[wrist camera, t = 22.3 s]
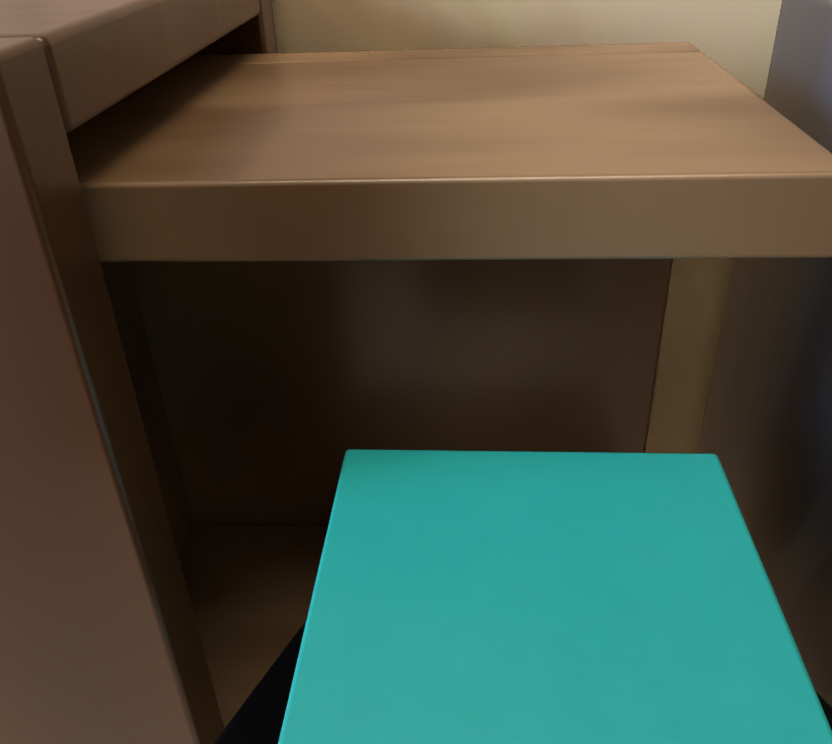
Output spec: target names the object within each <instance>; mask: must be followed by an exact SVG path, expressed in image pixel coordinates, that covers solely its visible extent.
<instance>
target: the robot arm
mask: <svg viewBox="0 0 832 744" xmlns="http://www.w3.org/2000/svg"><path fill="white" fill-rule="evenodd" d="M305 625H306V622H305V623H304V624H303V625H302V626H301V628H300V629H299V630H298V632H297V633H296V634H295V636H294V637H293V638H292V640H291V641H290V642H289V644H288V645H287V646H286V647H285V649H284V650H283V651H282V653H281V654H280V655H279V657H278V658H277V659H276V661H275V662H274V663H273V665H272V666H271V667H270V669H269V670H268V671H267V673H266V674H265V675H264V677H263V678H262V679H261V681H260V682H259V683H258V685H257V686H256V687H255V688H254V690H253V691H252V692H251V694H250V695H249V696H248V698H247V699H246V700H245V702H244V703H243V704H242V706H241V707H240V708H239V710H238V711H237V712H236V714H235V715H234V716H233V718H232V719H231V720H230V722H229V723H228V724H227V726H226V727H225V728H224V729H223V731H222V732H221V733H220V735H219V736H218V737H217V739H216V740H215V741H214V743H213V744H278V742H279V738H280V733H281V729H282V725H283V720H284V716H285V712H286V707H287V703H288V699H289V694H290V690H291V686H292V681H293V677H294V672H295V668H296V664H297V659H298V655H299V651H300V646H301V642H302V638H303V633H304V629H305ZM815 692H816V690H815ZM816 694H817V696H818V699H819V701H820V704H821V706H822V708H823V711H824V713H825V716H826V718H827V720H828V723H829V725H830V728H831V730H832V708H831V706H830V705H829V704H828V703H827V702H826V701H825V700H824V699H823V698H822V697H821V696H820V695H819V694H818V693H817V692H816Z"/></svg>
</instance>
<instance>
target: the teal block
mask: <svg viewBox="0 0 832 744" xmlns="http://www.w3.org/2000/svg"><path fill="white" fill-rule="evenodd" d="M278 744H832V730H831V728H830V725H829V723H828V720H827V718H826V716H825V713H824V711H823V708H822V706H821V704H820V701H819V699H818V696H817V694H816V692H815V689H814V687H813V684H812V682H811V680H810V677H809V675H808V672H807V670H806V667H805V665H804V663H803V660H802V658H801V655H800V653H799V651H798V648H797V646H796V643H795V641H794V639H793V636H792V634H791V631H790V629H789V627H788V624H787V622H786V619H785V617H784V614H783V612H782V610H781V607H780V605H779V602H778V600H777V598H776V595H775V593H774V590H773V588H772V586H771V583H770V581H769V578H768V576H767V574H766V571H765V569H764V566H763V564H762V561H761V559H760V557H759V554H758V552H757V549H756V547H755V545H754V542H753V540H752V537H751V535H750V533H749V530H748V528H747V525H746V523H745V521H744V518H743V516H742V513H741V511H740V508H739V506H738V504H737V501H736V499H735V496H734V494H733V492H732V489H731V487H730V484H729V482H728V480H727V477H726V475H725V472H724V470H723V468H722V465H721V463H720V460H719V458H718V456H717V455H716V454H697V453H614V452H530V451H446V450H362V449H349V450H347V451H346V452H345V456H344V460H343V464H342V469H341V473H340V477H339V482H338V486H337V490H336V495H335V499H334V503H333V508H332V512H331V516H330V521H329V525H328V529H327V534H326V538H325V542H324V547H323V551H322V555H321V560H320V564H319V568H318V573H317V577H316V581H315V586H314V590H313V594H312V599H311V603H310V607H309V612H308V616H307V620H306V625H305V629H304V633H303V638H302V642H301V646H300V651H299V655H298V659H297V664H296V668H295V672H294V677H293V681H292V686H291V690H290V694H289V699H288V703H287V707H286V712H285V716H284V720H283V725H282V729H281V733H280V738H279V742H278Z"/></svg>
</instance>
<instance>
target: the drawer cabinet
mask: <svg viewBox="0 0 832 744" xmlns="http://www.w3.org/2000/svg"><path fill="white" fill-rule="evenodd" d="M275 53H277V45H276V37H275V29H274V21H273V12H272V4H271V0H0V744H213V743H214V741H215V740H216V739H217V737H218V736H219V735H220V733H221V732H222V731H223V729H224V724H223V721H222V717H221V713H220V709H219V706H218V702H217V698H216V694H215V691H214V687H213V683H212V679H211V676H210V672H209V668H208V664H207V661H206V657H205V653H204V649H203V646H202V642H201V638H200V634H199V631H198V627H197V623H196V619H195V616H194V612H193V608H192V604H191V600H190V597H189V593H188V589H187V585H186V582H185V578H184V574H183V570H182V567H181V563H180V559H179V555H178V552H177V548H176V544H175V540H174V537H173V533H172V529H171V525H170V522H169V518H168V514H167V510H166V507H165V503H164V499H163V495H162V492H161V488H160V484H159V480H158V477H157V473H156V469H155V465H154V462H153V458H152V454H151V450H150V447H149V443H148V439H147V435H146V431H145V428H144V424H143V420H142V416H141V413H140V409H139V405H138V401H137V398H136V394H135V390H134V386H133V383H132V379H131V375H130V371H129V368H128V364H127V360H126V356H125V353H124V349H123V345H122V341H121V338H120V334H119V330H118V326H117V323H116V319H115V315H114V311H113V308H112V304H111V300H110V296H109V293H108V289H107V285H106V281H105V277H104V274H103V270H102V266H101V262H100V259H99V255H98V251H97V247H96V244H95V240H94V236H93V232H92V229H91V225H90V221H89V217H88V214H87V210H86V206H85V202H84V199H83V195H82V191H81V187H80V184H79V180H78V176H77V172H76V169H75V165H74V161H73V157H72V154H71V150H70V146H69V142H68V139H67V135H66V134H67V133H69V132H71V131H72V130H74V129H76V128H77V127H79V126H80V125H82V124H84V123H85V122H87V121H88V120H90V119H92V118H93V117H95V116H96V115H98V114H100V113H101V112H103V111H104V110H106V109H108V108H109V107H111V106H112V105H114V104H116V103H117V102H119V101H120V100H122V99H124V98H125V97H127V96H128V95H130V94H132V93H133V92H135V91H136V90H138V89H140V88H141V87H143V86H144V85H146V84H148V83H149V82H151V81H152V80H154V79H156V78H157V77H159V76H160V75H162V74H164V73H165V72H167V71H168V70H170V69H172V68H173V67H175V66H176V65H178V64H180V63H181V62H183V61H184V60H186V59H188V58H189V57H191V56H201V55H238V54H275Z"/></svg>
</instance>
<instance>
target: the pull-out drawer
mask: <svg viewBox="0 0 832 744" xmlns="http://www.w3.org/2000/svg"><path fill="white" fill-rule="evenodd" d="M66 135H67V139H68V142H69V146H70V150H71V154H72V157H73V161H74V165H75V169H76V172H77V176H78V180H79V184H80V187H81V191H82V195H83V199H84V202H85V206H86V210H87V214H88V217H89V221H90V225H91V229H92V232H93V236H94V240H95V244H96V247H97V251H98V255H99V259H100V262H101V266H102V270H103V274H104V277H105V281H106V285H107V289H108V293H109V296H110V300H111V304H112V308H113V311H114V315H115V319H116V323H117V326H118V330H119V334H120V338H121V341H122V345H123V349H124V353H125V356H126V360H127V364H128V368H129V371H130V375H131V379H132V383H133V386H134V390H135V394H136V398H137V401H138V405H139V409H140V413H141V416H142V420H143V424H144V428H145V431H146V435H147V439H148V443H149V447H150V450H151V454H152V458H153V462H154V465H155V469H156V473H157V477H158V480H159V484H160V488H161V492H162V495H163V499H164V503H165V507H166V510H167V514H168V518H169V522H170V525H171V529H172V533H173V537H174V540H175V544H176V548H177V552H178V555H179V559H180V563H181V567H182V570H183V574H184V578H185V582H186V585H187V589H188V593H189V597H190V600H191V604H192V608H193V612H194V616H195V619H196V623H197V627H198V631H199V634H200V638H201V642H202V646H203V649H204V653H205V657H206V661H207V664H208V668H209V672H210V676H211V679H212V683H213V687H214V691H215V694H216V698H217V702H218V706H219V709H220V713H221V717H222V721H223V724H224V728H225V727H226V726H227V724H228V723H229V722H230V720H231V719H232V718H233V716H234V715H235V714H236V712H237V711H238V710H239V708H240V707H241V706H242V704H243V703H244V702H245V700H246V699H247V698H248V696H249V695H250V694H251V692H252V691H253V690H254V688H255V687H256V686H257V685H258V683H259V682H260V681H261V679H262V678H263V677H264V675H265V674H266V673H267V671H268V670H269V669H270V667H271V666H272V665H273V663H274V662H275V661H276V659H277V658H278V657H279V655H280V654H281V653H282V651H283V650H284V649H285V647H286V646H287V645H288V644H289V642H290V641H291V640H292V638H293V637H294V636H295V634H296V633H297V632H298V630H299V629H300V628H301V626H302V625H303V624H304V623H305V622H306V620H307V616H308V612H309V607H310V603H311V599H312V594H313V590H314V586H315V581H316V577H317V573H318V568H319V564H320V560H321V555H322V551H323V547H324V542H325V538H326V534H327V529H328V525H329V521H330V516H331V512H332V508H333V503H334V499H335V495H336V490H337V486H338V482H339V477H340V473H341V469H342V464H343V460H344V456H345V452H346V451H347V450H349V449H362V450H446V451H530V452H614V453H645V449H646V442H647V435H648V428H649V421H650V415H651V408H652V401H653V394H654V387H655V380H656V373H657V366H658V359H659V352H660V345H661V338H662V331H663V324H664V318H665V311H666V304H667V297H668V290H669V283H670V276H671V269H672V262H673V259H687V258H734V261H733V266H732V271H731V277H730V282H729V287H728V293H727V298H726V303H725V308H724V314H723V319H722V324H721V330H720V335H719V340H718V346H717V351H716V356H715V362H714V367H713V372H712V378H711V383H710V388H709V394H708V399H707V404H706V410H705V415H704V420H703V426H702V431H701V436H700V442H699V447H698V452H697V454H716V455H717V456H718V458H719V460H720V463H721V465H722V468H723V470H724V472H725V475H726V477H727V480H728V482H729V484H730V487H731V489H732V492H733V494H734V496H735V499H736V501H737V504H738V506H739V508H740V511H741V513H742V516H743V518H744V521H745V523H746V525H747V528H748V530H749V533H750V535H751V537H752V540H753V542H754V545H755V547H756V549H757V552H758V554H759V557H760V559H761V561H762V564H763V566H764V569H765V571H766V574H767V576H768V578H769V581H770V583H771V586H772V588H773V590H774V593H775V595H776V598H777V600H778V602H779V605H780V607H781V610H782V612H783V614H784V617H785V619H786V622H787V624H788V627H789V629H790V631H791V634H792V636H793V639H794V641H795V643H796V646H797V648H798V651H799V653H800V655H801V658H802V660H803V663H804V665H805V667H806V670H807V672H808V675H809V677H810V680H811V682H812V684H813V687H814V689H815V690H816V692H817V693H818V694H819V695H820V696H821V697H822V698H823V699H824V700H825V701H826V702H827V703H828V704H829V705H830V706H831V708H832V0H782V5H781V10H780V16H779V21H778V26H777V32H776V37H775V42H774V48H773V53H772V58H771V64H770V69H769V74H768V80H767V85H766V90H765V96H764V100H763V99H762V98H760V97H759V96H758V95H757V94H755V93H754V92H753V91H751V90H750V89H749V88H748V87H746V86H745V85H744V84H743V83H741V82H740V81H739V80H737V79H736V78H735V77H734V76H732V75H731V74H730V73H728V72H727V71H726V70H725V69H723V68H722V67H721V66H719V65H718V64H717V63H716V62H714V61H713V60H712V59H710V58H709V57H708V56H707V55H705V54H704V53H702V52H701V51H700V50H698V49H697V48H696V47H695V46H693V45H692V44H691V43H688V42H683V43H646V44H609V45H572V46H535V47H497V48H460V49H423V50H386V51H349V52H312V53H275V54H238V55H201V56H191V57H189V58H188V59H186V60H184V61H183V62H181V63H180V64H178V65H176V66H175V67H173V68H172V69H170V70H168V71H167V72H165V73H164V74H162V75H160V76H159V77H157V78H156V79H154V80H152V81H151V82H149V83H148V84H146V85H144V86H143V87H141V88H140V89H138V90H136V91H135V92H133V93H132V94H130V95H128V96H127V97H125V98H124V99H122V100H120V101H119V102H117V103H116V104H114V105H112V106H111V107H109V108H108V109H106V110H104V111H103V112H101V113H100V114H98V115H96V116H95V117H93V118H92V119H90V120H88V121H87V122H85V123H84V124H82V125H80V126H79V127H77V128H76V129H74V130H72V131H71V132H69V133H67V134H66Z"/></svg>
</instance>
